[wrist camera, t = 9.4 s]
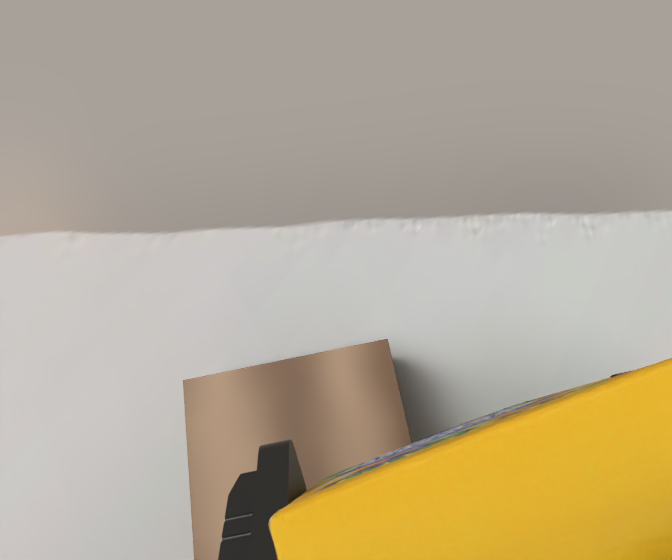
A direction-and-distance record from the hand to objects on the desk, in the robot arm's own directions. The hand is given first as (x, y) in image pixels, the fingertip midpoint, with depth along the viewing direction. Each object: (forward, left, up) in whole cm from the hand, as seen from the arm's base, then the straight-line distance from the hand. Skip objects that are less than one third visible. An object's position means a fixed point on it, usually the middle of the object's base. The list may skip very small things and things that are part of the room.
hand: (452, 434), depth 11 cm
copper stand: (-6, -1, -20) cm, 21 cm away
